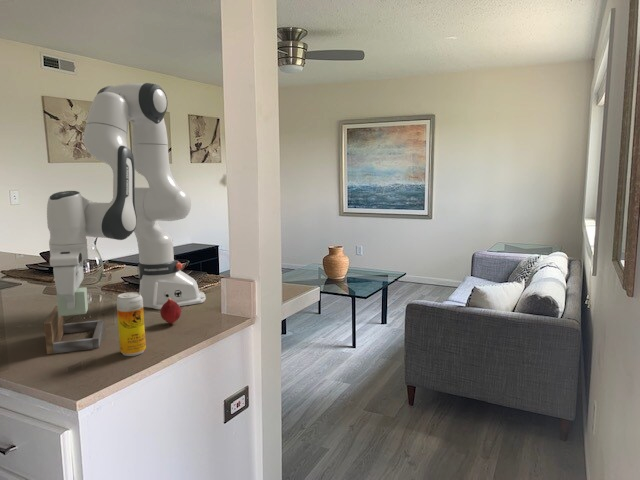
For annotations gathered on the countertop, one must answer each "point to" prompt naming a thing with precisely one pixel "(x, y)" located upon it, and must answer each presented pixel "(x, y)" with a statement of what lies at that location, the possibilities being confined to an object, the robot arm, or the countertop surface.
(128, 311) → the beer can
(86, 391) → the countertop surface
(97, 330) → the grey and wood frame
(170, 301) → the onion
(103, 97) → the robot arm
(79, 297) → the cabinet block
